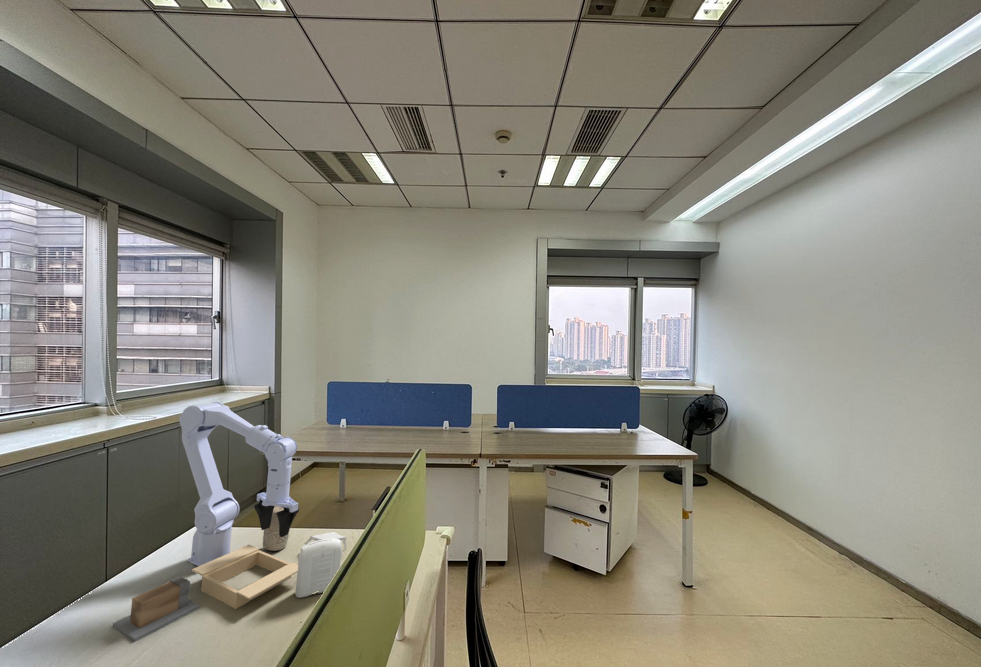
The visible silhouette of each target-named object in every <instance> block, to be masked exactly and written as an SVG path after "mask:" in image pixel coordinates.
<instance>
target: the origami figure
mask: <svg viewBox="0 0 981 667" xmlns="http://www.w3.org/2000/svg"><path fill="white" fill-rule="evenodd" d="M322 539H339V540H340V541H341V542H343V545H344V546H343V547H344V549H342V552H346V551H347V541H346V539H347V537H346V536H344V535H340V534H338V533H337V532H336V531H331V532H326V533H322V534H316V535H311V536H310V537H309V538H308V539H307V540H306V542H304V546H305V545H307V544H309V543H311V542H312V541H318V540H322Z"/></svg>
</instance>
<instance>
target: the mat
mask: <svg viewBox="0 0 981 667" xmlns="http://www.w3.org/2000/svg"><path fill="white" fill-rule="evenodd" d="M199 608H201V605H200V604H198V602H195V601H193V600H192V599H190V598H189V600H188V605H186V606H184V607H182V608H180V609H178V610H176V611H174V612H172V613H170V614H168V615H166V616H164V617H162V618H160V619H158V620H156V621H154V622H152V623H150V624H148V625H146V626H144V627H142V628H138V627H137V626H135V625H134V624H132V623H131V622H130V616H131V614H129V615H128V616H125V617H123V618H121V619H119V620H117V621H114V622H113V623H112V627H113V628H115V629H116V630H118V631H119V632H120V633H121V634H123V635H124V636H126V637H128V638H129V639H130V640H131V641H133V642H134V643H135V642H137V641H139V640H141V639H143V638H144V637H147V636H149V635H150V634H152V633H154V632H156V631H158V630H160V629H162V628H164V627H166V626H167V625H170V624H171V623H174V622H175V621H177V620H179V619H181V618H182V617H184V616H186V615H189V614H191V613H192V612H195V611H197V610H199Z"/></svg>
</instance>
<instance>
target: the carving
mask: <svg viewBox="0 0 981 667" xmlns="http://www.w3.org/2000/svg"><path fill="white" fill-rule="evenodd" d="M282 510H284V508H281V507H278V506H275V507H274V510H273V513H272V519H271V525H270V528H267V529H265V530H263V535H262V547H263V549H264V550H266V551H270V552H271V551H281V550H282V549H284V548H286V546H287V544H288V541H289V536H290V535H289V534H290V529H291V528H290V529H289V532H288V535H286V536H283V537H280V535H279V520H278V517H277V514H276V513H277V512H279V511H282Z"/></svg>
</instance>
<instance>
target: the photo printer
mask: <svg viewBox="0 0 981 667" xmlns="http://www.w3.org/2000/svg"><path fill="white" fill-rule="evenodd" d="M342 551H343V546H342V540H341V541H340V540H339V539H322V540H318V541H315V540H313V541H310V542H308V543H307V545H305V544H304V545H302V546H301V548H300V552H299V555H298V563H297V564H298V572H297V573H296V583H295V584H296V585H295V596H296V598H306V597H310V596H311V595H310V594H312V593H314V592H316V591H319V593H318V594H321V593H325V592H324V590H325V589H326V588H327V586H328V584H329V583H330V582H331V580H332V578H333V577H334V575H335V574H336V572H337V570H338V569H339V568H340V569H341V562H342ZM309 595H310V596H309Z"/></svg>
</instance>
